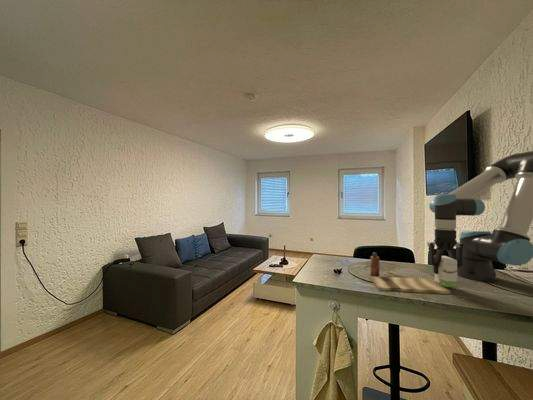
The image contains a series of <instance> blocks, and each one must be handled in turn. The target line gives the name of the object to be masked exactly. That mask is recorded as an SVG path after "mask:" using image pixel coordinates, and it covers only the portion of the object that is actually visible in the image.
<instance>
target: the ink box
mask: <svg viewBox="0 0 533 400" xmlns="http://www.w3.org/2000/svg"><path fill="white" fill-rule="evenodd" d="M439 267H441V282H438V281H436V274H435V273H434V281H435V282H437V283H438V284H440V285H442V286H443V287H445V288H458V275H457V260H455V259H452V258H450V257H449V256H447V255H442V257H441V261H440V264H439Z"/></svg>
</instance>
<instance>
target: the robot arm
mask: <svg viewBox="0 0 533 400" xmlns="http://www.w3.org/2000/svg"><path fill="white" fill-rule="evenodd" d="M512 179H516V180H517V182H516V184H515V188H514V190H513V193H512V194H511V198H510V200H509V202H508V205H507V207H506V210H505V212H504V214H503V217H502V220H501V222H500V225H499V227H497V228H494V229H493V231H492V232H491V230H489V231H488V230H486V231H485V230H482V231H481V230H479V231H478V230H475V231H474V230H469V231H468V230H467V231H466V230H465V231H464V230H463V231H461V232H460V234H459V242H457V230H456V229H457V216H466V217H467V216H470V217H471V216H472V217H473V216H481V215H482V214H483V213H484V212H485V209H486V208H485V207H486V205H485V202H484V201H483V200H481V199H480V198H475V197H477V196H478V195H480V194H482V193H483V192H485V191H486V190H488V189H489V188H491V187H493V186H494V185H497V184H501V183H502V184H503V183H504V182H505V181H507V180H512ZM428 206H429V210H430V211H431V212H432V213H434V228H435V229H434V240H433V241H432V242H429V241H428V242H427V247H428V264H429V265H430V266H431V265H432V266H433V274H434V275H435V274H436V281H438V282H441V267H439V264H440V261H441V257H442V256H443V253H444V252H445V251H446V252H447V254H448V257H450V258H452V259H455V260H457V276H459V277H462V278H466V279H469V280H475V281H478V282H479V281H480V282H496V281H497V278H498V276H497V274H496V271H495V268H494V265H493V264H492V261H494V262H498V263H501V264H504V265H510V266H514V267H515V266H522V265H526V264H528V263H529V262H531V260H532V259H533V243H532V242H531V237H529V235H528V232H529V229H530V227H531V224H532V221H533V150H531V151H526V152H525V151H524V152H520V153H513V154H510V155H507V156H506V157H505V156H504V157H503V158H501V159H499V160H498V161H495V162H494V163H492V164H490V165H488V166H487V167H486V168H485V169H484V170H483V172H482V173H480V174H479V175H476V176H475V177H474V178H472V179H470V180H469V181H467V182H466V183H464V184H462V185H461V186H459V187H457V188H456V189H454V190H453V191H451V192H449V193H446V194H445V193H444V194H443V193H441V194H436V195H435V196H434V198H433V199H432V200H431V201H430V202H429V205H428ZM435 247H436V248H435ZM454 247H455V248H454ZM436 281H435V282H436ZM438 282H437V283H438Z"/></svg>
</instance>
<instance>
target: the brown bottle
mask: <svg viewBox="0 0 533 400" xmlns="http://www.w3.org/2000/svg"><path fill="white" fill-rule="evenodd" d="M370 276H376V277H380V257H379V256H378V254H377V252H372V255H370Z"/></svg>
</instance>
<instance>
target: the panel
mask: <svg viewBox="0 0 533 400" xmlns="http://www.w3.org/2000/svg"><path fill="white" fill-rule="evenodd" d="M368 279H369V281H370V282H372V284H373V286H375V288H376V289H377V290H378V291H390V292H392V291H393V292H409V293H410V292H413V293H427V294H428V293H429V294H446V295H447V294H448V295H451V290H450V289H448V288H447V287H445V286H443V285H441V284H440V283H438V282H436V281H435V280H433V279H432V278H418V277H417V278H415V277H413V278H412V277H394V276H393V277H392V276H379V277H376V276H371V275H369V276H368Z"/></svg>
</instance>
